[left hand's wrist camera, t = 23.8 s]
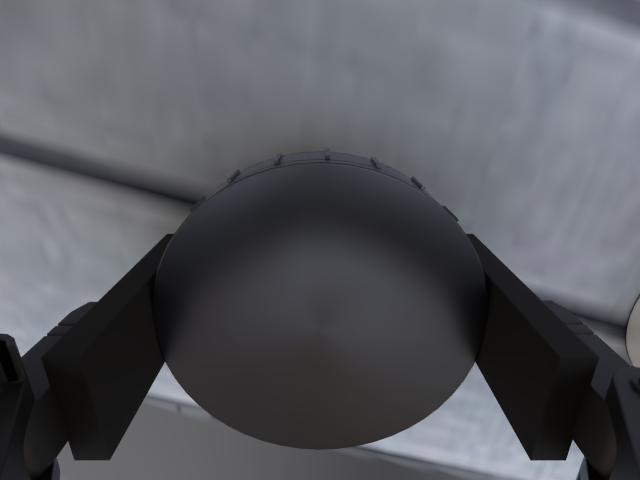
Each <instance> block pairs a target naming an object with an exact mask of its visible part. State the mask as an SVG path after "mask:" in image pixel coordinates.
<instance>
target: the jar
mask: <svg viewBox="0 0 640 480" xmlns="http://www.w3.org/2000/svg"><path fill="white" fill-rule="evenodd" d="M626 345H627V350H628V354H629V357H630V359H631V362H632V364H633V366H634V367H639V368H640V297H639V299H638V301H637V302H636V304H635V306H634V308H633V311H632V313H631V315H630V318H629V322H628V326H627V333H626Z"/></svg>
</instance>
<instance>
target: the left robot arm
mask: <svg viewBox="0 0 640 480" xmlns="http://www.w3.org/2000/svg"><path fill="white" fill-rule="evenodd" d="M466 235H467V236H468V238H469V240H470V242H471V244H472V246H473V247H474V249H475V251H476V253H477V255H478V257H479V261H480V263H481V266H482V269H483V272H484V276H485V281H486V287H487V292H488V317H487V323H486V329H485V334H484V339H483V342H482V346H481V349H480V351H479V353H478V356H477V358H476V360H475V362H476V364H477V365H478V367H479V369H480V371H481V373H482V374H483V376H484V378H485V380H486V382H487V383H488V385H489V387H490V389H491V390H492V392H493V394H494V396H495V398H496V399H497V401H498V403H499V405H500V407H501V408H502V410H503V412H504V414H505V415H506V417H507V419H508V421H509V423H510V424H511V426H512V428H513V430H514V432H515V433H516V435H517V437H518V439H519V440H520V442H521V444H522V446H523V448H524V449H525V451H526V453H527V455H528V456H529V458H530V460H566V458H567V455H568V452H569V449H570V446H571V443H572V440H574V442H575V443H576V445H577V446H578V447H579V449H580V450H581V452H582V453H583V454H584V458H583V461H582V464H581V467H580V470H579V473H578V475H577V478H576V480H640V368H639V367H632V366H630V365H629V364H628V363H627V362H626V361H624V360H623V359H622V358H621V357H620V356H619V355H618V354H617V353H616V352H615V351H613V350H612V349H611V348H610V347H609V346H608V345H607V344H606V343H605V342H604V341H602V340H601V339H600V338H599V337H598V336H597V335H594V334H593V332H592V331H591V330H590V329H589V328H588V327H587V326H586V325H583V322H581V321H580V320H579V319H578V318H577V317H576V316H575V315H574V314H573V313H572V312H570V311H569V310H567V309H565V308H564V307H562V306H560V305H558V304H556V303H554V302H553V301H541V300H540V299H539V298H538V297H537V296H536V295H535V294H534V293H533V292H532V291H531V290H530V289H529V288H528V287H527V286H526V285H525V284H524V283H523V282H522V281H521V280H520V279H519V278H518V277H517V276H516V275H514V274H513V273H512V272H511V271H510V270H509V269H508V268H507V267H506V266H505V265H504V264H503V263H502V262H501V261H500V260H499V259H498V258H497V257H496V256H495V255H494V254H493V253H492V252H491V251H490V250H489V249H488V248H487V247H486V246H485V245H484V244H483V243H482V242H481V241H480V240H479V239H478V238H477V237H476V236H475V235H474V234H466ZM173 236H174V234H167V235H166V236H165V237H164V238H163V239H162V240H161V241H160V242H159V243H158V244H157V245H155V246H154V247H153V248H152V249H151V250H150V251H149V252H148V253H147V254H146V255H145V256H144V257H143V258H142V259H141V260H140V261H139V262H138V263H137V264H136V265H135V266H134V267H133V268H132V269H131V270H130V271H129V272H128V273H127V274H126V275H125V276H124V277H123V278H122V279H121V280H120V281H119V282H118V283H117V284H116V285H115V286H113V287H112V288H111V289H110V290H109V291H108V292H107V293H106V294H105V295H104V296H103V297H102V298H101V299H100V300H99V301H98V302H89V303H87V304H85V305H83V306H81V307H79V308H78V309H76V310H74V311H72V312H71V313H70V314H68V315H67V316H66V317H65V318H64V319H63V320H62V321H61V322H60V323H59V324H58V326H55V327H54V328H53V329H52V330H51V331H50V332H49V333H48V334H47V336H44V337H43V338H42V339H41V340H40V341H39V342H38V343H37V344H36V345H34V346H33V347H32V348H31V349H30V350H29V351H28V352H27V353H26V354H25V355H24V356H22V357H21V356H20V353H19V351H18V348H17V345H16V342H15V339H14V338H13V337H11V336H9V335H8V334H0V480H59V479H60V469H59V464H58V461H57V458H56V457H57V455H58V454H59V453H60V451H61V450H62V448H63V447H64V446H65V444H66V443H67V441H68V442H69V445H70V448H71V451H72V454H73V457H74V460H110V459H111V457H112V455H113V453H114V452H115V450H116V448H117V446H118V444H119V443H120V441H121V439H122V437H123V436H124V434H125V432H126V430H127V428H128V427H129V425H130V423H131V421H132V419H133V418H134V416H135V414H136V412H137V411H138V409H139V407H140V405H141V403H142V402H143V400H144V398H145V396H146V394H147V393H148V391H149V389H150V387H151V386H152V384H153V382H154V380H155V378H156V377H157V375H158V373H159V371H160V369H161V368H162V366H163V364H164V362H165V360H164V357H163V355H162V352H161V350H160V348H159V345H158V341H157V337H156V332H155V327H154V321H153V312H152V302H153V288H154V283H155V278H156V274H157V269H158V267H159V264H160V262H161V259H162V256H163V254H164V251H165V249H166V248H167V247H166V246H167V244H168V243H169V242H170V241H171V239H172V237H173Z"/></svg>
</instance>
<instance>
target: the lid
mask: <svg viewBox="0 0 640 480" xmlns="http://www.w3.org/2000/svg"><path fill="white" fill-rule="evenodd" d="M190 211H191V212H192V213H191V214H190V215H189V216H188V217H187V219H186V220H185V221H184V222H183V224H182V225H181V226H180V227H179V229H178V230H177V231H176V232H175V234H174V236H173V237H172V239H171V241H170V242H169V243H168V244H167V246H166V247H167V248H166V249H165V251H164V254H163V256H162V259H161V262H160V264H159V267H158V269H157V274H156V278H155V283H154V288H153V302H152V312H153V321H154V327H155V332H156V337H157V341H158V345H159V348H160V350H161V352H162V355H163V357H164V360H165V362H166V364H167V365H168V367H169V369H170V371H171V372H172V374H173V376H174V377H175V379H176V380H177V381H178V383H179V384H180V385H181V387H182V388H183V389H184V390H185V392H186V393H187V394H188V395H189V396H190V397H191V398H192V399H193V400H194V401H195V402H196V403H197V404H198V405H199V406H200V407H202V408H203V409H204V410H206V411H207V412H208V413H209V414H211V415H212V416H213V417H215V418H216V419H218V420H219V421H221V422H223V423H224V424H226V425H227V426H229V427H231V428H233V429H235V430H237V431H239V432H242V433H243V434H246V435H248V436H251V437H254V438H256V439H259V440H262V441H265V442H269V443H273V444H277V445H281V446H287V447H294V448H302V449H339V448H346V447H354V446H359V445H363V444H367V443H372V442H375V441H378V440H381V439H384V438H387V437H390V436H392V435H395V434H397V433H399V432H401V431H403V430H406V429H408V428H410V427H411V426H413V425H415V424H416V423H418V422H420V421H421V420H423V419H425V418H426V417H427V416H428V415H430V414H431V413H432V412H434V411H435V410H436V409H438V408H439V407H440V406H441V405H442V404H443V403H444V402H445V401H446V400H447V399H448V398H449V397H450V396H452V394H453V393H454V392H455V391H456V390H457V388H458V387H459V386H460V385H461V383H462V382H463V381H464V379H465V378H466V376H467V375H468V373H469V371H470V370H471V368H472V366H473V365H474V363H475V360H476V358H477V356H478V353H479V351H480V349H481V346H482V342H483V339H484V334H485V329H486V323H487V317H488V292H487V287H486V281H485V276H484V272H483V269H482V266H481V263H480V261H479V257H478V255H477V253H476V251H475V249H474V247H473V246H472V244H471V242H470V240H469V238H468V236H467V235H466V234H465V232H464V231H463V230H462V228H461V227H460V226H459V224H458V223H457V221H459V220H458V219H457V217H456V216H455V215H453V214H452V213H451V212H450V211H449V210H448V209H447V208H446V207H445V206H443V207H442V206H441V205H440V204H439V203H438V202H437V201H436V200H435V199H434V198H433V197H432V196H431V195H430V194H429V193H428V192H427V191H426V190H425V187H424V186H423V185H422V184H421V183H420V182H419V181H418V180H417V179H416V178H414V177H412V178H411V179H410V178H409V177H407V176H406V175H404V174H402V173H400V172H398V171H396V170H395V169H393V168H391V167H389V166H387V165H384V164H382V163H379V162H378V161H377V159H376V158H374V157H371V160H370V159H368V158H364V157H359V156H355V155H350V154H345V153H335V152H329V149H325V152H304V153H296V154H291V155H285V156H282V153H280V154H278V155H277V156H276V158H273V159H270V160H267V161H264V162H261V163H258V164H256V165H254V166H252V167H250V168H248V169H246V170H244V171H242V172H240V171H239V170H237V171H235V172H234V173H233V174H232V175H231V176H230V178H229V179H228V180H227V181H226V182H225V183H223V184H222V185H220V186H219V187H218V188H217V189H216V190H215V191H214V192H213V193H212V194H210V195H209V196H208V197H207V198H205V197H203V198H202V199H201V200H200V201H199V202H198V203H197V204H195V205H194V206H193V207H192V208H191V209H190Z"/></svg>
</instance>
